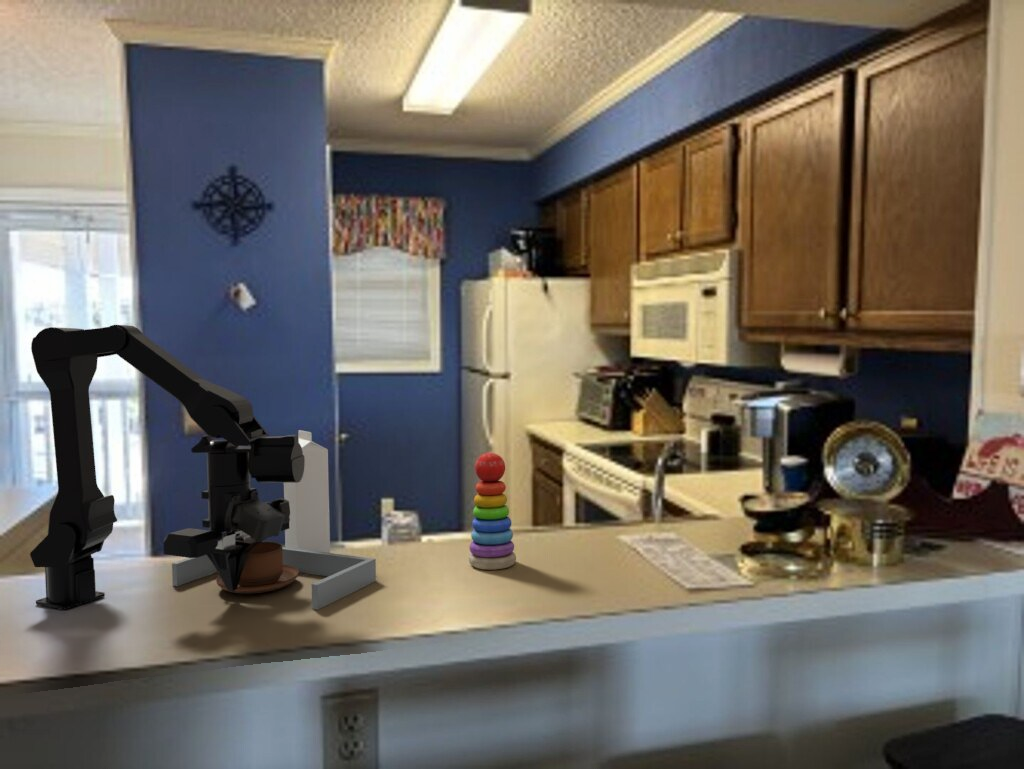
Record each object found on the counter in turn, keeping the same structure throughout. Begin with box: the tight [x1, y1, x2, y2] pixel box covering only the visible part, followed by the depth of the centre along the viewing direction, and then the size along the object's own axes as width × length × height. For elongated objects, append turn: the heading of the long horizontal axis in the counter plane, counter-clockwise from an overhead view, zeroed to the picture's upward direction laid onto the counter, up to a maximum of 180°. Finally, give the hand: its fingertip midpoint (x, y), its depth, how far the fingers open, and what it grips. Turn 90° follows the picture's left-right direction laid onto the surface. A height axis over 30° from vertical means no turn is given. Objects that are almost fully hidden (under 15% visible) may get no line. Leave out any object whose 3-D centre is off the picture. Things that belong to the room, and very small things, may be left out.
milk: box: [283, 429, 331, 553], centre depth 132 cm, size 6×6×22 cm
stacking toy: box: [468, 452, 517, 571], centre depth 125 cm, size 8×8×19 cm
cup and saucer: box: [215, 541, 300, 595], centre depth 115 cm, size 12×12×6 cm
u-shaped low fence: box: [171, 546, 377, 610], centre depth 116 cm, size 28×14×4 cm, turn 66°
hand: (232, 590), depth 108 cm, fingers closed
